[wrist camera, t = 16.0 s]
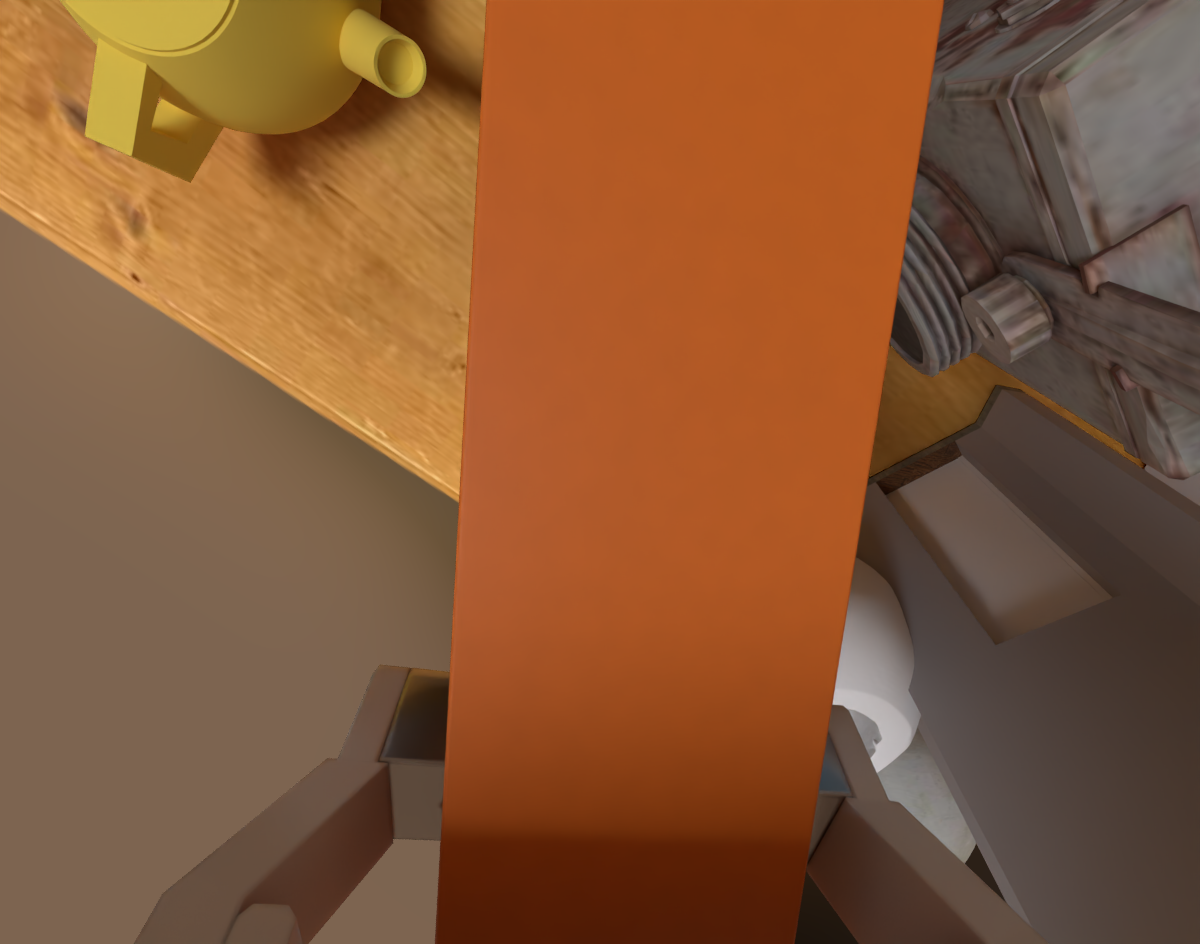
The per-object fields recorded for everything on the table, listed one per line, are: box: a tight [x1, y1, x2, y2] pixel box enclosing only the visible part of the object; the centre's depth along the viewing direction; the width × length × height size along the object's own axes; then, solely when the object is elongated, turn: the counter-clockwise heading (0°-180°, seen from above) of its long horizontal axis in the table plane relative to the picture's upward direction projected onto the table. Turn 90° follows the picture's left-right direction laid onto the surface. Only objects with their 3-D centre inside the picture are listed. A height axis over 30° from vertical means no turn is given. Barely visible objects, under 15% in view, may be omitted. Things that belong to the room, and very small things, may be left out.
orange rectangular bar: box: [435, 0, 944, 944], centre depth 8 cm, size 18×4×2 cm, turn 175°
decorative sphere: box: [877, 727, 976, 863], centre depth 46 cm, size 15×15×15 cm
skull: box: [832, 557, 921, 773], centre depth 37 cm, size 13×18×20 cm
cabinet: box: [856, 385, 1200, 944], centre depth 30 cm, size 21×10×28 cm, turn 170°
